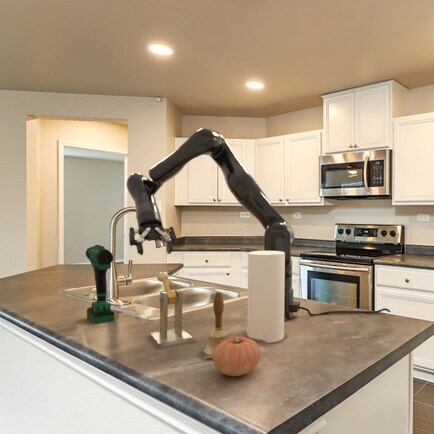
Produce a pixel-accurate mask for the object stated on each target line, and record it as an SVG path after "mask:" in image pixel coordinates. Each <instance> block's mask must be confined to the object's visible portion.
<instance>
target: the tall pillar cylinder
mask: <svg viewBox="0 0 434 434" xmlns="http://www.w3.org/2000/svg"><path fill="white" fill-rule="evenodd" d="M284 285H285V253H284V252H281V251H264V250H253V251H248V252H247V322H246V323H247V324H246V325H247V328H246V329H247V333H246V334H247V335H246V336H247V337H248V338H249V339H252V340H262V341H264V342H265V343H267V344H273V343H276V342H280V341H281V340H283V339H284V338H285V320H284Z"/></svg>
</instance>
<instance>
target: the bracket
mask: <svg viewBox="0 0 434 434" xmlns="http://www.w3.org/2000/svg"><path fill="white" fill-rule="evenodd" d="M174 291H175V294H176V296H177V299H176V304H174V315H173V317H174V318H173V319H174V320H173V321H174V322H173V323H174V324H173V325H174V328H172V329H168V324H169V323H168V318H169V315H168V312H169V311H168V310H169V309H168V308H169V306H168V305H169V304H168V293H166V290H160V292H159V330H158V331H153V332H150V333H149V335H150V336H151V337H152V338H153V340H155V342H156V343H157V344H158V345H163V344H169V343H174V342H179V341H185V340H191V339H193V336H191V334H189V333H188V331H186V330H184V329H183V298H184V297H183V291H181V290H180V289H178V288H177V289H174Z"/></svg>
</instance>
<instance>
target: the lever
mask: <svg viewBox="0 0 434 434" xmlns="http://www.w3.org/2000/svg"><path fill="white" fill-rule="evenodd" d="M156 279H157V280H158V282H159V283H162V285H163V287H164V291H165V292H166V293H168V305H175V304H176V299H177V296H176V294H175V290H174V291H173V290H172V289H171V287H170V285H169V282H168V279H169V274H168V272H166V271H163V270H162V271H160V272H158V273H157V276H156Z"/></svg>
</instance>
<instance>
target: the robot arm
mask: <svg viewBox="0 0 434 434" xmlns="http://www.w3.org/2000/svg"><path fill="white" fill-rule="evenodd" d="M203 155H204V156H209V157H210V158H211V159H212V160H213V162H215V164H216V165H217V166H218V167H219V169H220V170H221V172H222V175H223V177H224V181H225V184H226V187H227V188H228V190H229V191H230V193H231V194H232V195H233V197H234V198H235V200H236V201H237V202H238V203H239V204H240V205H241V206H242V207H243V208H244V209H245V210H246V211H247V212H248V213H250V215H252V216H253V217H254V218H255V219H256V220H257V221H258V222H259V223H260V224H261V226H262V227H263V229H264V235H263V251H281V252H284V253H285V285H284V321H289V320H291V319H292V318H293V316H294V313H296V314H297V313H298V312H299V311H300V310H304V311H306V312H307V314H308V315H309V316H311V317H314V316H322V315H327V314H378V313H381V312H384V311H386V312H388V313H391V312H392V311H391V310H390V309H389V308H385V307H384V308H381V309H377V310H330V311H329V310H328V311H324V312H320V313H312V312H311V311H310V309H308V308H307V307H305V306H304V307H303V306H301V301H294V288H293V260H292V257H291V245H292V243H293V242H294V240H295V232H294V229H293V227H292V226H291V224H289V223H288V221H287V220H285V218H284V217H283V216H282V215H281V214H280V213H279V212H278V211H277V210H276V208H275V207H274V206H273V204H272V203H271V201H270V199H269V198H268V197H267V195H266V193H264V191H263V190H262V188H261V187H260V185H259V184H258V182H257V181H256V180H255V178H254V177H253V176H252V175H251V173H249V171H248V170H247V169H246V167H245V166H244V165H243V163H241V161H240V160H239V159H238V158H237V156H236V155H235V153H234V152H233V150H232V149H231V147H230V145H229V143H228V142H227V140H226V138H225V137H224V135H223V134H222V133H220V132H219V131H217V130H214V129H211V128H207V127H203V128H198V130H196V131H194V133H193V134H191V136H189V137H188V138H187V139H186V140H185V141H184V142H183V143H182V144H181V145H180V146H179V147H178V148H177V149H176V150H174V151H173V152H172V153H171V154H169V155H167V157H165V158H163V159H162V160H161V161H159V162H158V163H156V164H155V165H153V166H152V167H150V168H149V169H148V176H149V177H147V176H145V175H143V173H138V172H135V173H132V174H130V175H129V176H128V178H127V180H126V189H127V191H128V193H129V195H130V196H131V198H132V201H133V202H134V206H135V218H136V222H137V227H138V228H134V227H133V226H131V227H129V231H128V240H129V246H131V247H133V246H135V247H136V251H137V255H139V256H143V255H144V246H143V244H144V243H145V242H146V241H147V242H152V241H154V242H155V241H156V242H157V241H159V242H160V243H162V244H164V245H166V246H165V248H166V252H167V255H170V254H172V252H173V249H174V247H173V245H175V244H176V242H177V235H176V232H175V229H174V227H173V226H170V227H169V228H165V227H164V225H163V221H162V217H161V213H160V209H159V207H158V203H157V199H156V196H155V195H156V194H157V192H158V191H159V190H160V189H161V188H162V186H163V185H164V184H165V183H167V182H168V181H170V180H172V179H173V178H174V177H176V176H178V174H179V173H180V172H181V171H182V170H183V169H184V167H186V166H187V164H188V163H190V162H191V161H193V160H194V159H196V158H198V157H200V156H203ZM137 234H138V235H139V238H138V239H136V237H135V236H136V235H137Z"/></svg>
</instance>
